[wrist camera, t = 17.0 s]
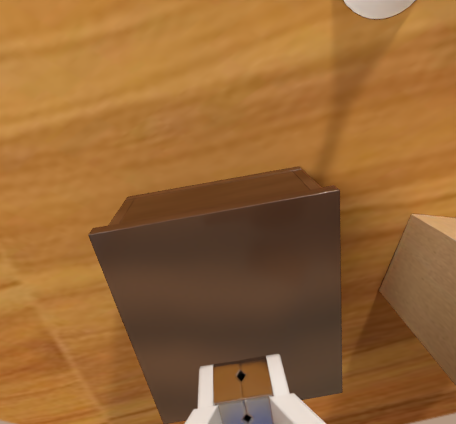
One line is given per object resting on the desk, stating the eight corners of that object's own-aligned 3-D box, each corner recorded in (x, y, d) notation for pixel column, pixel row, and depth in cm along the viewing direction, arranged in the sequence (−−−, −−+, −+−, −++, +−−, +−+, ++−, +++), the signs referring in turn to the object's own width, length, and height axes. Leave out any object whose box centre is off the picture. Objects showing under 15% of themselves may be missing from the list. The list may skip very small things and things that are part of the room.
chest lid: (92, 227, 17) (87, 234, 17) (334, 184, 17) (340, 189, 17) (164, 414, 24) (163, 424, 23) (338, 383, 24) (342, 393, 23)
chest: (126, 196, 24) (99, 236, 18) (299, 166, 24) (331, 195, 18) (173, 345, 30) (164, 413, 24) (310, 320, 30) (338, 382, 24)
